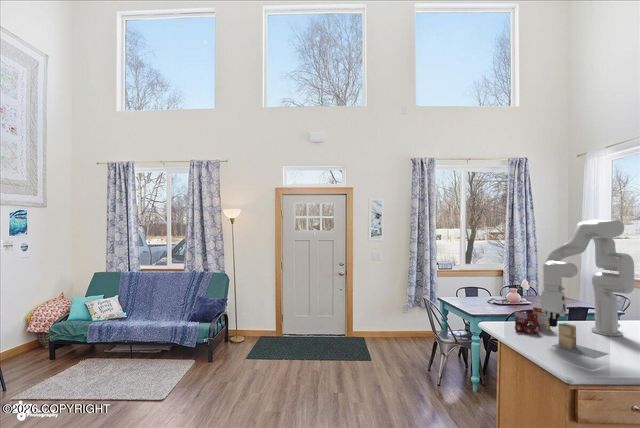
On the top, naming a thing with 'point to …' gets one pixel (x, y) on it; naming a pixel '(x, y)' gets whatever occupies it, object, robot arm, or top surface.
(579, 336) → the top surface
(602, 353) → the mat
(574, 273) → the robot arm
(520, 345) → the top surface
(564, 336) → the oak block
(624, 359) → the top surface
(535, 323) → the toy fire truck
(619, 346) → the top surface
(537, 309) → the canned food
